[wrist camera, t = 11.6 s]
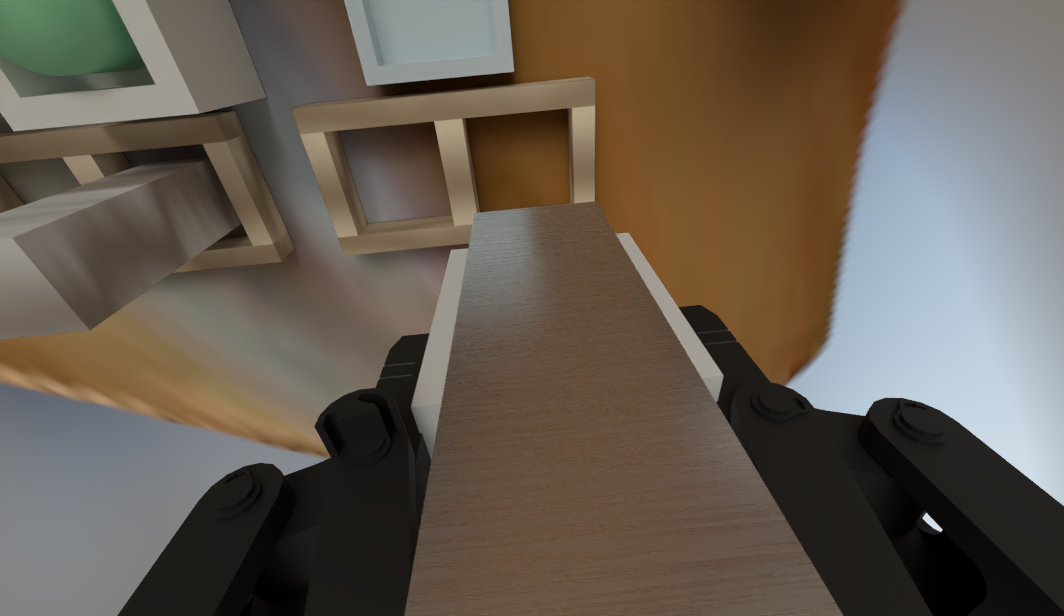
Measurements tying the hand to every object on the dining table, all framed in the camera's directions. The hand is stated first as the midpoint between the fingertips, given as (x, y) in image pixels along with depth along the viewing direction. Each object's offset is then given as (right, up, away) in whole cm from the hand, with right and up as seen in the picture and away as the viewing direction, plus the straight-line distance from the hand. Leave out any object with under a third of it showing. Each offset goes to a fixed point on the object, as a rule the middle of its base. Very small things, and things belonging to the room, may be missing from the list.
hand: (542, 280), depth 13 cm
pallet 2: (-5, +8, +12) cm, 15 cm away
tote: (-5, +15, +7) cm, 18 cm away
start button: (-19, +12, +5) cm, 23 cm away
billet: (0, +1, +1) cm, 1 cm away
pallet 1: (-25, +6, +12) cm, 28 cm away
